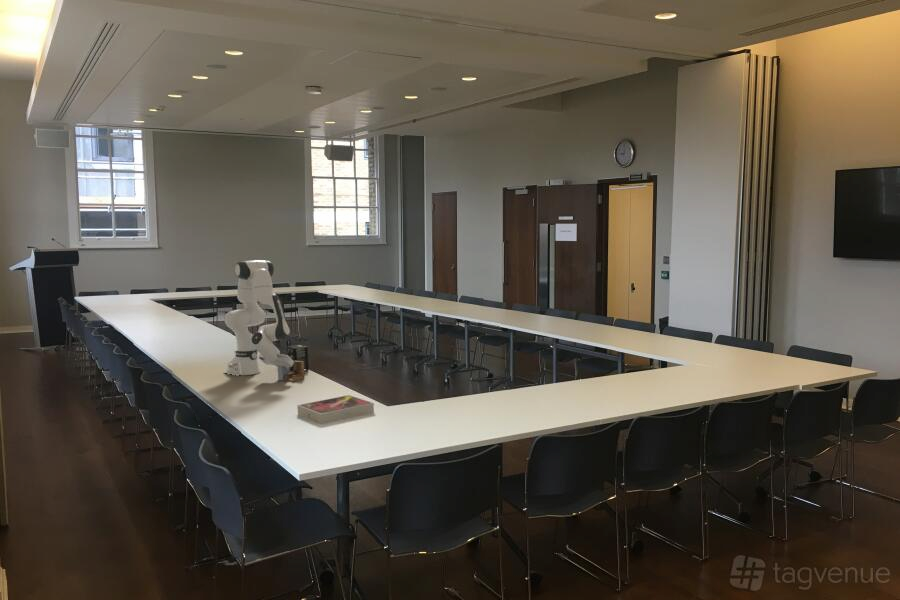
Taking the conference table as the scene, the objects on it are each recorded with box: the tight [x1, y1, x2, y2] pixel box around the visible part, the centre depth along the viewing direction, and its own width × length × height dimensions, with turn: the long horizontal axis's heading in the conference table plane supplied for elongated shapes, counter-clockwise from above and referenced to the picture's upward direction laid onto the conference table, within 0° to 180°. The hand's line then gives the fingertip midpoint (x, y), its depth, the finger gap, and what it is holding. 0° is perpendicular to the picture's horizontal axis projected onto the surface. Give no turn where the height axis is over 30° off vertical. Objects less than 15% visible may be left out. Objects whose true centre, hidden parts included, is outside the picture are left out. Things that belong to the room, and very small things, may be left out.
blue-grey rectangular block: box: [277, 366, 291, 381], centre depth 412 cm, size 4×6×12 cm, turn 151°
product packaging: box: [296, 394, 375, 425], centre depth 336 cm, size 22×28×5 cm
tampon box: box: [286, 344, 310, 372], centre depth 437 cm, size 11×9×15 cm
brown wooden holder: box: [284, 361, 305, 382], centre depth 410 cm, size 6×9×10 cm
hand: (284, 367), depth 412 cm, fingers closed on blue-grey rectangular block, 3 cm apart
